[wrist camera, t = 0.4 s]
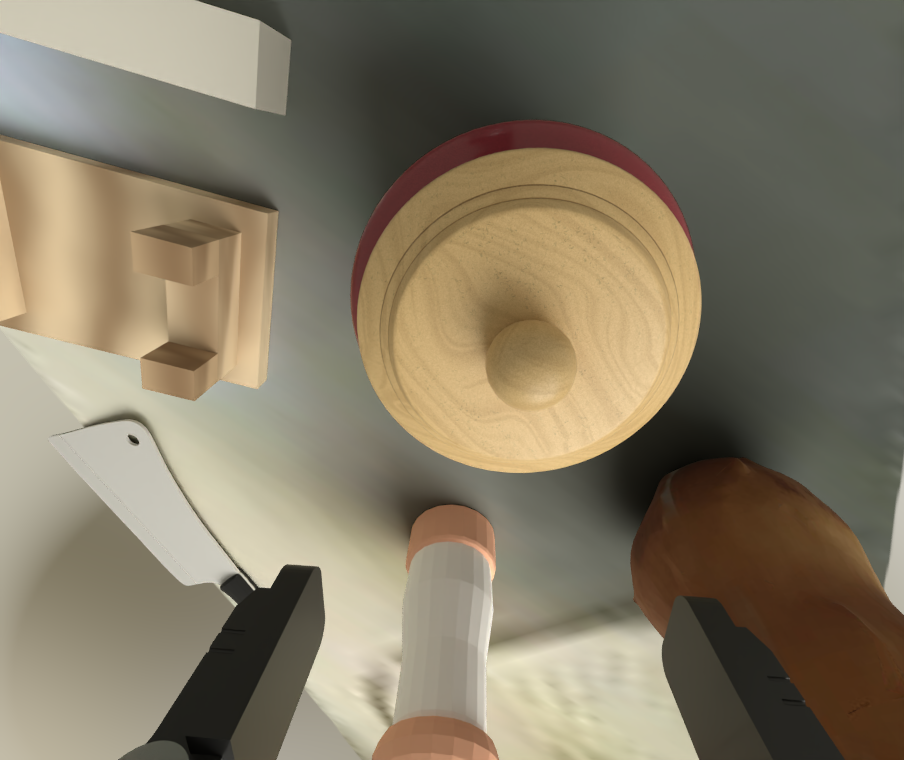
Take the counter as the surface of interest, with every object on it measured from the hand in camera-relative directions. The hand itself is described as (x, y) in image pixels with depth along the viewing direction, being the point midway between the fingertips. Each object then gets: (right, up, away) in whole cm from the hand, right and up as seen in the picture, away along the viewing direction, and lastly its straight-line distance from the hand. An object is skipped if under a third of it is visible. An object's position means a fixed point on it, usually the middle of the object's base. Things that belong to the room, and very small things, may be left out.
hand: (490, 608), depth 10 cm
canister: (+2, +13, +18) cm, 22 cm away
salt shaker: (-1, -8, +28) cm, 30 cm away
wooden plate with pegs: (-23, +13, +19) cm, 32 cm away
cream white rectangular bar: (-19, +24, +13) cm, 34 cm away
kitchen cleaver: (-25, -11, +32) cm, 42 cm away
